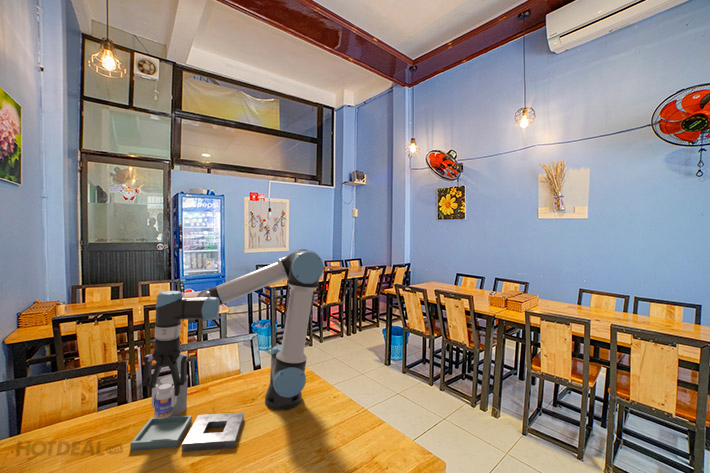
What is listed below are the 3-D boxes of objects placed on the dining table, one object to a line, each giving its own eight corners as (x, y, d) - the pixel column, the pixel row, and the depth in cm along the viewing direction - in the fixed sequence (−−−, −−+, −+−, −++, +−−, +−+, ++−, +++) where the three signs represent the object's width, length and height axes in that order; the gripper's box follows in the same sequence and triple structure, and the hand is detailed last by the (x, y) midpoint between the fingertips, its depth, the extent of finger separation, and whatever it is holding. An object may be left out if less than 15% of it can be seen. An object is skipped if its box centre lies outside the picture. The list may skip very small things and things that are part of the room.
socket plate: (243, 419, 117) (243, 412, 117) (234, 448, 101) (234, 440, 101) (198, 421, 114) (198, 414, 114) (181, 451, 98) (181, 444, 98)
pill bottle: (159, 421, 102) (160, 391, 102) (150, 415, 105) (152, 386, 104) (176, 413, 106) (177, 385, 106) (167, 408, 109) (169, 381, 109)
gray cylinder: (173, 418, 115) (175, 385, 115) (152, 414, 117) (153, 382, 117) (192, 405, 124) (193, 374, 124) (171, 401, 126) (173, 371, 126)
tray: (191, 422, 113) (191, 415, 113) (176, 447, 100) (177, 439, 100) (150, 424, 111) (151, 417, 111) (130, 450, 98) (130, 442, 98)
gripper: (131, 341, 100) (128, 412, 100) (192, 340, 103) (189, 410, 103) (143, 333, 108) (140, 400, 108) (199, 333, 111) (196, 398, 111)
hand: (164, 405), depth 105 cm, fingers closed on pill bottle, 5 cm apart
